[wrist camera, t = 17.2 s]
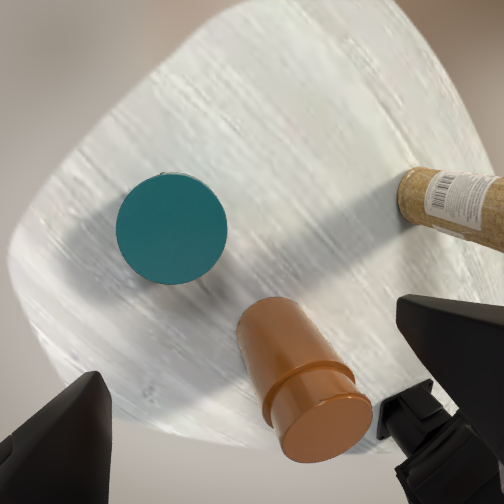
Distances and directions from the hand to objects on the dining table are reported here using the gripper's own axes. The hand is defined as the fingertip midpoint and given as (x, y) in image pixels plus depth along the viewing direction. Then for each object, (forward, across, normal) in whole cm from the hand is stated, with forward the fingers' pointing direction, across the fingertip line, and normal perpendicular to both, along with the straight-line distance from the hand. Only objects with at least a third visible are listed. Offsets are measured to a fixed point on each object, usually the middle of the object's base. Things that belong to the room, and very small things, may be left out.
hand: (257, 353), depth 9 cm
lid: (+13, +2, -2) cm, 13 cm away
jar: (+13, -3, +7) cm, 15 cm away
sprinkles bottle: (+13, -16, -1) cm, 20 cm away
